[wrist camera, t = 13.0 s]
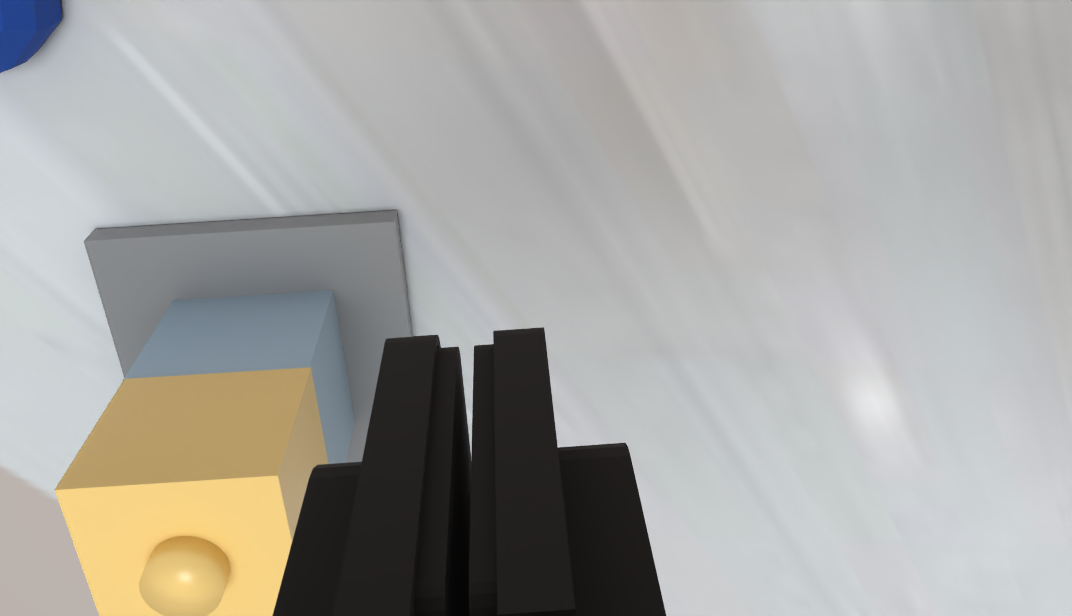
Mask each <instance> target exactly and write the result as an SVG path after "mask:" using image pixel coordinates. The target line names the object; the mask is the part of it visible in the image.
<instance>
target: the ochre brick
mask: <svg viewBox="0 0 1072 616" xmlns="http://www.w3.org/2000/svg"><path fill="white" fill-rule="evenodd" d="M321 464H328V459H327V453H326V448H325V442H324V437H323V431H322V426H321V420H320V414H319V409H318V403H317V398H316V392H315V387H314V381H313V376H312V370H311V367H308V368H292V369H275V370H259V371H243V372H227V373H211V374H194V375H178V376H162V377H146V378H130V379H124V381H123V382H122V384H121V385H120V387H119V388H118V390H117V392H116V393H115V395H114V396H113V398H112V400H111V401H110V403H109V404H108V406H107V408H106V409H105V411H104V412H103V414H102V415H101V417H100V419H99V420H98V422H97V423H96V425H95V427H94V428H93V430H92V431H91V433H90V435H89V436H88V438H87V439H86V441H85V442H84V444H83V446H82V447H81V449H80V450H79V452H78V454H77V455H76V457H75V458H74V460H73V462H72V463H71V465H70V466H69V468H68V470H67V471H66V473H65V474H64V476H63V477H62V479H61V481H60V482H59V484H58V485H57V487H56V489H55V493H56V495H57V498H58V501H59V504H60V507H61V509H62V512H63V515H64V518H65V520H66V523H67V526H68V529H69V531H70V535H71V537H72V540H73V543H74V546H75V548H76V551H77V554H78V557H79V560H80V563H81V565H82V568H83V571H84V574H85V576H86V579H87V582H88V585H89V588H90V591H91V593H92V596H93V599H94V602H95V604H96V607H97V610H98V613H99V616H273V612H274V608H275V604H276V601H277V597H278V593H279V589H280V586H281V582H282V578H283V574H284V571H285V567H286V563H287V559H288V556H289V552H290V548H291V544H292V541H293V537H294V533H295V529H296V526H297V522H298V518H299V514H300V510H301V507H302V503H303V499H304V495H305V492H306V488H307V484H308V480H309V477H310V475H311V472H312V469H313V468H314V467H315V466H316V465H321Z"/></svg>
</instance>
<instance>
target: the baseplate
mask: <svg viewBox="0 0 1072 616" xmlns="http://www.w3.org/2000/svg"><path fill="white" fill-rule="evenodd" d="M84 243H85V247H86V250H87V254H88V257H89V260H90V264H91V267H92V270H93V274H94V277H95V280H96V284H97V287H98V290H99V294H100V297H101V301H102V304H103V307H104V311H105V314H106V317H107V321H108V324H109V327H110V331H111V334H112V337H113V341H114V344H115V347H116V351H117V354H118V358H119V361H120V364H121V368H122V371H123V374H124V378H125V376H126V375H127V373H128V371H129V370H130V368H131V367H132V365H133V363H134V362H135V360H136V359H137V357H138V356H139V354H140V352H141V351H142V349H143V348H144V346H145V344H146V343H147V341H148V340H149V338H150V337H151V335H152V333H153V332H154V330H155V329H156V327H157V325H158V324H159V322H160V321H161V319H162V317H163V316H164V314H165V313H166V311H167V310H168V308H169V306H170V305H171V303H172V302H173V301H174V300H189V299H205V298H220V297H236V296H252V295H267V294H283V293H298V292H314V291H329V290H333V293H334V299H335V305H336V311H337V317H338V323H339V329H340V335H341V341H342V347H343V353H344V359H345V366H346V372H347V378H348V384H349V390H350V396H351V402H352V408H353V414H354V420H355V422H354V427H353V432H352V437H351V442H350V446H349V451H348V456H347V461H346V463H349V462H362V458H363V453H364V448H365V443H366V437H367V432H368V427H369V422H370V417H371V411H372V406H373V401H374V396H375V390H376V385H377V380H378V375H379V370H380V364H381V359H382V354H383V349H384V343H385V340H386V339H387V338H399V337H413V336H412V328H411V320H410V312H409V304H408V296H407V288H406V280H405V271H404V263H403V255H402V247H401V239H400V231H399V223H398V215H397V210H391V211H375V212H359V213H343V214H327V215H311V216H295V217H279V218H263V219H246V220H230V221H214V222H198V223H182V224H166V225H150V226H134V227H118V228H102V229H95V230H94V231H93V232H92V233H91V234H90V235H89V236H88V237H87V238H86V239H85V240H84Z"/></svg>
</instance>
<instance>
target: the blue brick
mask: <svg viewBox="0 0 1072 616" xmlns="http://www.w3.org/2000/svg"><path fill="white" fill-rule="evenodd" d="M308 367H311V370H312V376H313V381H314V387H315V392H316V398H317V403H318V409H319V414H320V420H321V426H322V431H323V437H324V442H325V448H326V453H327V459H328V464H335V463H346V461H347V456H348V451H349V446H350V442H351V437H352V432H353V427H354V422H355V420H354V414H353V408H352V402H351V396H350V390H349V384H348V378H347V372H346V366H345V359H344V353H343V347H342V341H341V335H340V329H339V323H338V317H337V311H336V305H335V299H334V293H333V290H329V291H314V292H298V293H283V294H267V295H252V296H236V297H220V298H205V299H189V300H174V301H173V302H172V303H171V305H170V306H169V308H168V310H167V311H166V313H165V314H164V316H163V317H162V319H161V321H160V322H159V324H158V325H157V327H156V329H155V330H154V332H153V333H152V335H151V337H150V338H149V340H148V341H147V343H146V344H145V346H144V348H143V349H142V351H141V352H140V354H139V356H138V357H137V359H136V360H135V362H134V363H133V365H132V367H131V368H130V370H129V371H128V373H127V375H126V376H125V378H124V379H130V378H146V377H162V376H178V375H194V374H211V373H227V372H243V371H259V370H275V369H292V368H308ZM124 379H123V381H124Z"/></svg>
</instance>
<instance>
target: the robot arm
mask: <svg viewBox="0 0 1072 616" xmlns="http://www.w3.org/2000/svg"><path fill="white" fill-rule="evenodd" d="M273 616H666V613H665V609H664V604H663V600H662V595H661V591H660V586H659V582H658V577H657V573H656V568H655V564H654V559H653V555H652V551H651V546H650V542H649V537H648V533H647V528H646V524H645V519H644V515H643V510H642V506H641V501H640V497H639V492H638V488H637V484H636V479H635V475H634V470H633V466H632V461H631V457H630V453H629V449H628V446H627V445H626V443H617V444H603V445H588V446H574V447H560V448H557V439H556V430H555V421H554V412H553V403H552V394H551V385H550V376H549V367H548V358H547V350H546V341H545V332H544V328H530V329H515V330H501V331H494V344H492V345H477V346H474V376H473V420H472V462H471V453H470V443H469V434H468V424H467V415H466V405H465V396H464V386H463V377H462V367H461V358H460V351H459V347H448V348H441V346H440V341H439V337H438V335H428V336H414V337H399V338H387V339H386V340H385V343H384V349H383V354H382V359H381V364H380V370H379V375H378V380H377V385H376V390H375V396H374V401H373V406H372V411H371V417H370V422H369V427H368V432H367V437H366V443H365V448H364V453H363V458H362V462H349V463H335V464H321V465H316V466H315V467H314V468H313V469H312V472H311V475H310V477H309V480H308V484H307V488H306V492H305V495H304V499H303V503H302V507H301V510H300V514H299V518H298V522H297V526H296V529H295V533H294V537H293V541H292V544H291V548H290V552H289V556H288V559H287V563H286V567H285V571H284V574H283V578H282V582H281V586H280V589H279V593H278V597H277V601H276V604H275V608H274V612H273Z"/></svg>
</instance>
